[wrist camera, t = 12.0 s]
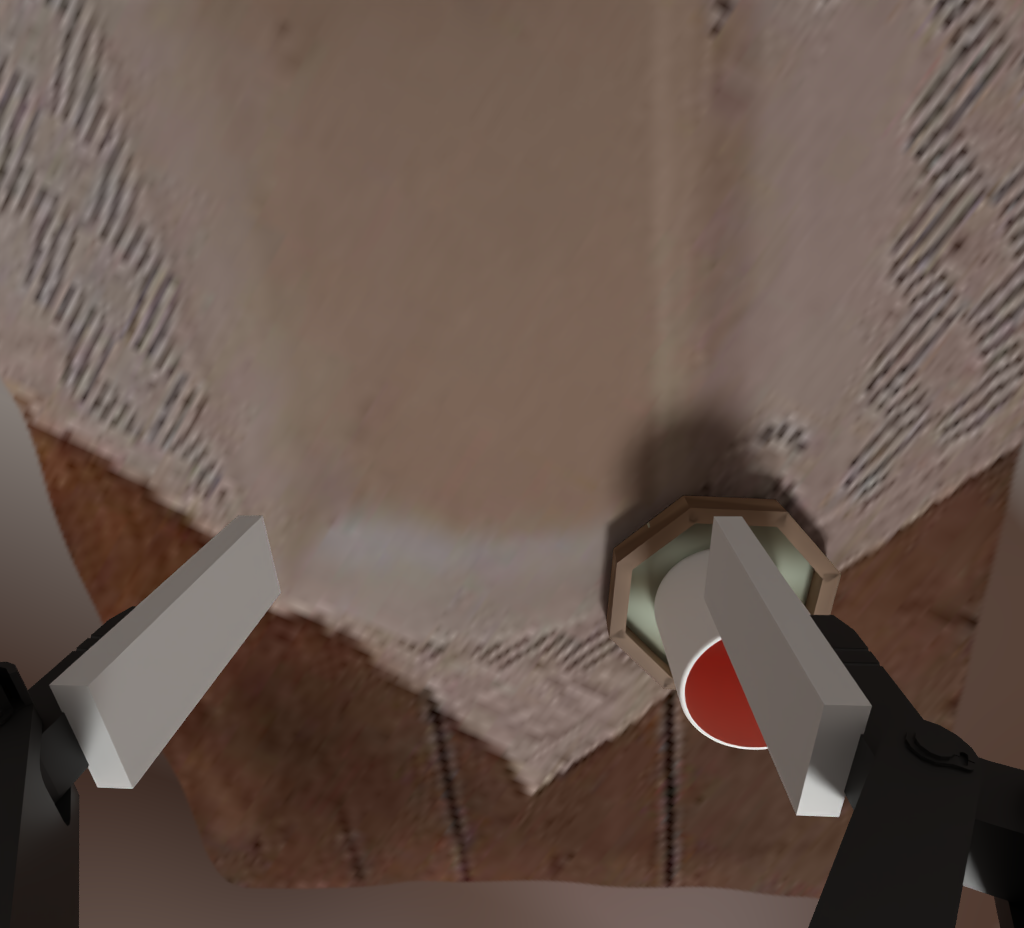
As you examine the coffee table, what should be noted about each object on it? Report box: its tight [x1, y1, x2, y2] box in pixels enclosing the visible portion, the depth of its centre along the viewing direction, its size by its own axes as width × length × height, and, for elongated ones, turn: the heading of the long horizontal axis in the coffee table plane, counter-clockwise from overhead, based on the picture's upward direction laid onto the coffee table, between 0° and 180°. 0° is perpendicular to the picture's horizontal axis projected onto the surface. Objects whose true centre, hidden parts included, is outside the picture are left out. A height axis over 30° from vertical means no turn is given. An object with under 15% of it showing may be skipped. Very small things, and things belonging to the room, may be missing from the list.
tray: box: [606, 495, 841, 690], centre depth 42 cm, size 16×16×2 cm
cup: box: [654, 549, 811, 749], centre depth 38 cm, size 10×10×10 cm
